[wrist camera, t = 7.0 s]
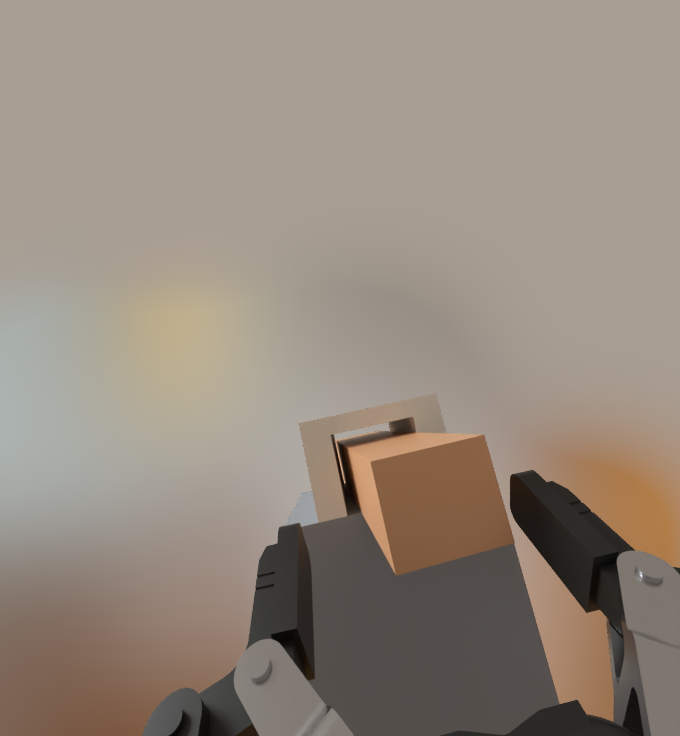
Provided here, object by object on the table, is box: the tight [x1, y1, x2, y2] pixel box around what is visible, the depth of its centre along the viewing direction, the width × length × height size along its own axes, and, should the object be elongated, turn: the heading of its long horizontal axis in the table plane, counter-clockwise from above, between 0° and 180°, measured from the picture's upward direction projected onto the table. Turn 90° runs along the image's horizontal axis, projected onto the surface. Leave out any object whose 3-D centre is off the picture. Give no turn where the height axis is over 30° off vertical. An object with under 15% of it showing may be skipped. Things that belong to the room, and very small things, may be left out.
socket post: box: [285, 394, 559, 736], centre depth 21 cm, size 12×10×36 cm
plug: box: [335, 431, 515, 576], centre depth 22 cm, size 4×22×4 cm, turn 4°
